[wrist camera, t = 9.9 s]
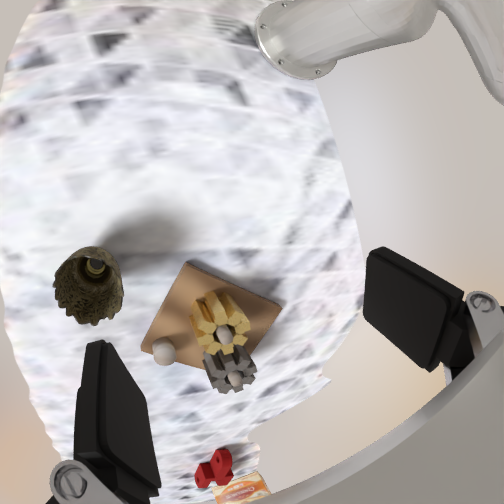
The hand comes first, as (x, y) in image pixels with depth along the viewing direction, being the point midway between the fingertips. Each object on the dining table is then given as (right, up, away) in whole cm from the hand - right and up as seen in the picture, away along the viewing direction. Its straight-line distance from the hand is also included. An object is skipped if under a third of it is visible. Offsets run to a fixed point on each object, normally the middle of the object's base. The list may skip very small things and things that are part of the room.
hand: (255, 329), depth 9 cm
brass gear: (-5, -6, +28) cm, 29 cm away
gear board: (-6, -8, +30) cm, 32 cm away
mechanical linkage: (-9, -48, +44) cm, 66 cm away
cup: (-19, +1, +21) cm, 28 cm away
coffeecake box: (-5, -65, +53) cm, 84 cm away
